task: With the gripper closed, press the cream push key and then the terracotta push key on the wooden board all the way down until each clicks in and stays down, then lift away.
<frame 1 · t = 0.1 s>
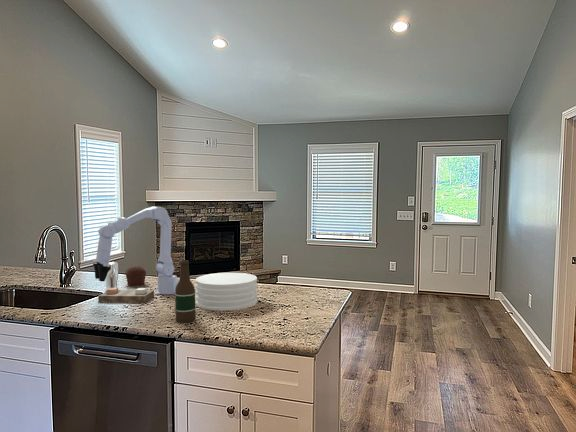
hand: (99, 279, 203), 11 cm above the worktop, tool pointing down, fingers open, 7 cm apart
cream key: (141, 292, 209), point 4 cm above the worktop, slide at 0.0 cm
terracotta key: (112, 291, 209), point 4 cm above the worktop, slide at 0.0 cm
beer bottle: (185, 320, 174), on the worktop
plate stack: (226, 303, 203), on the worktop
wooden board: (126, 299, 209), on the worktop
beer glass: (111, 292, 224), on the worktop
muffin: (136, 284, 242), on the worktop
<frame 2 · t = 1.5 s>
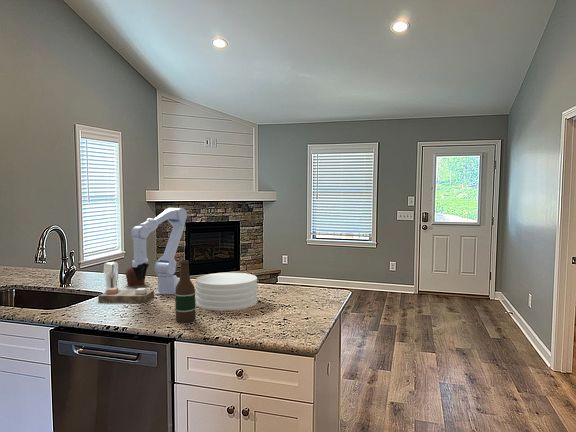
hand: (140, 279, 208), 9 cm above the worktop, tool pointing down, fingers open, 3 cm apart
nothing on the worktop moved.
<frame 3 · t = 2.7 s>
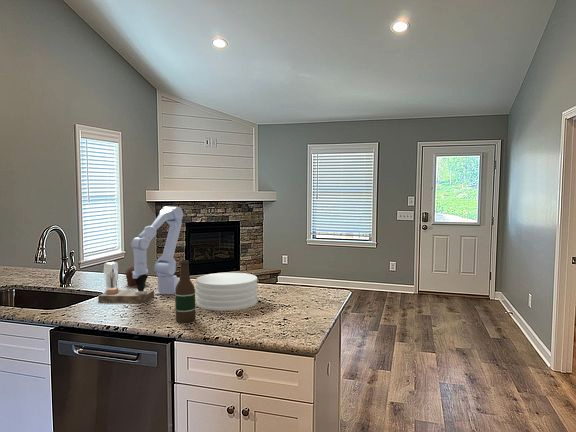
hand: (141, 290, 208), 4 cm above the worktop, tool pointing down, fingers closed, pressing on cream key
cream key: (141, 293, 209), point 3 cm above the worktop, slide at 0.9 cm, touching gripper
everything else where it was.
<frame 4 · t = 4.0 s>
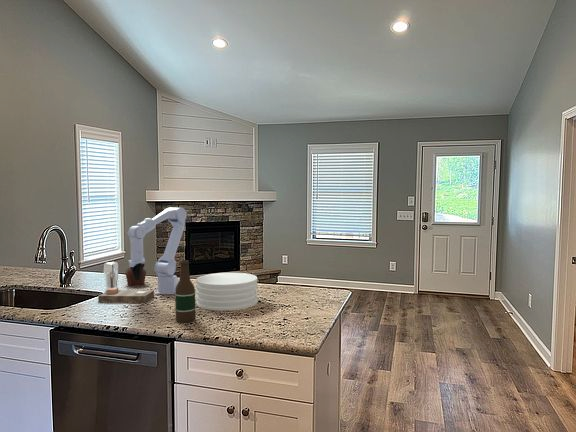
hand: (137, 279, 208), 9 cm above the worktop, tool pointing down, fingers closed
cream key: (141, 295, 209), point 2 cm above the worktop, slide at 1.6 cm
everything else where it was.
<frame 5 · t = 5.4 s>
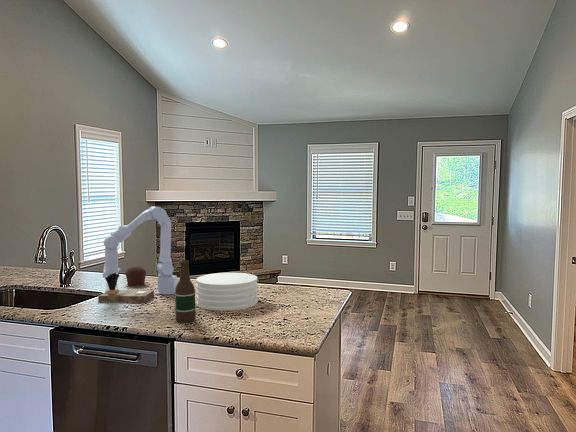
hand: (112, 289, 209), 5 cm above the worktop, tool pointing down, fingers closed, pressing on terracotta key
terracotta key: (112, 292, 209), point 3 cm above the worktop, slide at 0.4 cm, touching gripper
everything else where it was.
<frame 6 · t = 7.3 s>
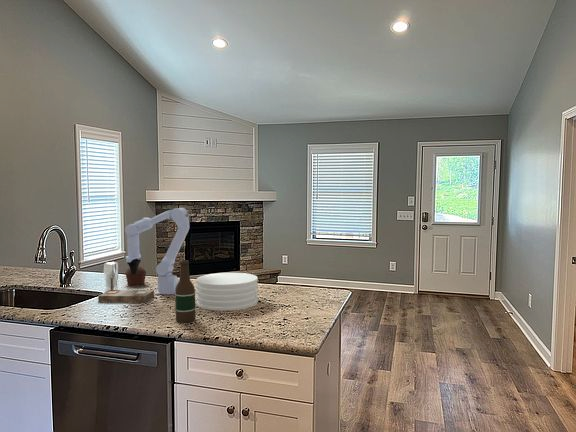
hand: (134, 274, 223), 9 cm above the worktop, tool pointing down, fingers closed
terracotta key: (112, 295, 209), point 2 cm above the worktop, slide at 1.6 cm
everything else where it was.
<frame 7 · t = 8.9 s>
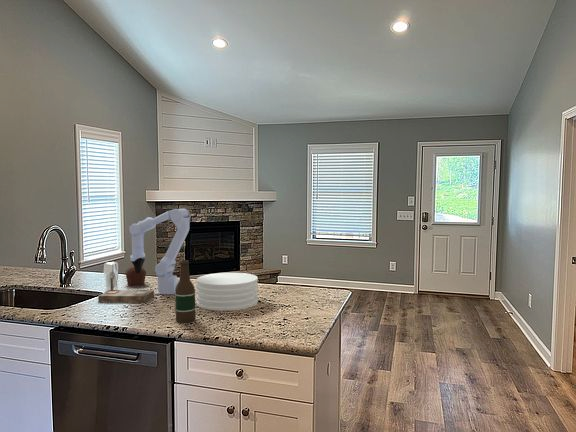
hand: (138, 273, 226), 9 cm above the worktop, tool pointing down, fingers closed
nothing on the worktop moved.
at the end: cream key slide at 1.6 cm; terracotta key slide at 1.6 cm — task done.
